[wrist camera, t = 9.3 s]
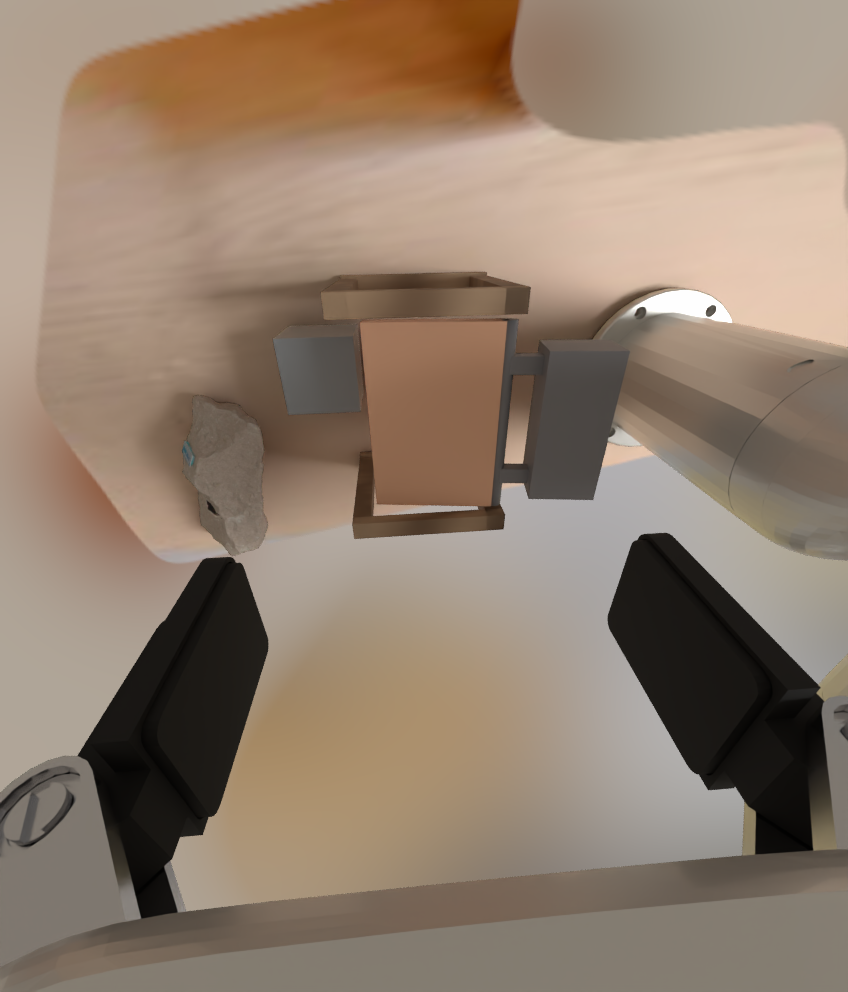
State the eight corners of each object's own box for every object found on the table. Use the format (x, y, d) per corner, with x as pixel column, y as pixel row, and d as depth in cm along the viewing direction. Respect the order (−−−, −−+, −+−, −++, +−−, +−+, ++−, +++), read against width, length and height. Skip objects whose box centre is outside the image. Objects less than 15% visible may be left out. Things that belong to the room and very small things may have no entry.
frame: (485, 272, 28) (531, 282, 19) (474, 462, 36) (503, 531, 27) (340, 275, 28) (319, 288, 19) (362, 468, 36) (354, 541, 27)
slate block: (352, 336, 25) (272, 338, 25) (360, 411, 28) (288, 415, 28) (357, 323, 29) (289, 325, 29) (363, 390, 32) (301, 392, 32)
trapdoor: (615, 314, 22) (637, 323, 19) (576, 492, 28) (588, 516, 26) (366, 316, 23) (355, 325, 20) (381, 489, 29) (374, 512, 26)
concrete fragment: (192, 524, 38) (161, 568, 32) (194, 382, 31) (155, 409, 26) (270, 538, 39) (252, 582, 34) (287, 405, 32) (268, 435, 27)
